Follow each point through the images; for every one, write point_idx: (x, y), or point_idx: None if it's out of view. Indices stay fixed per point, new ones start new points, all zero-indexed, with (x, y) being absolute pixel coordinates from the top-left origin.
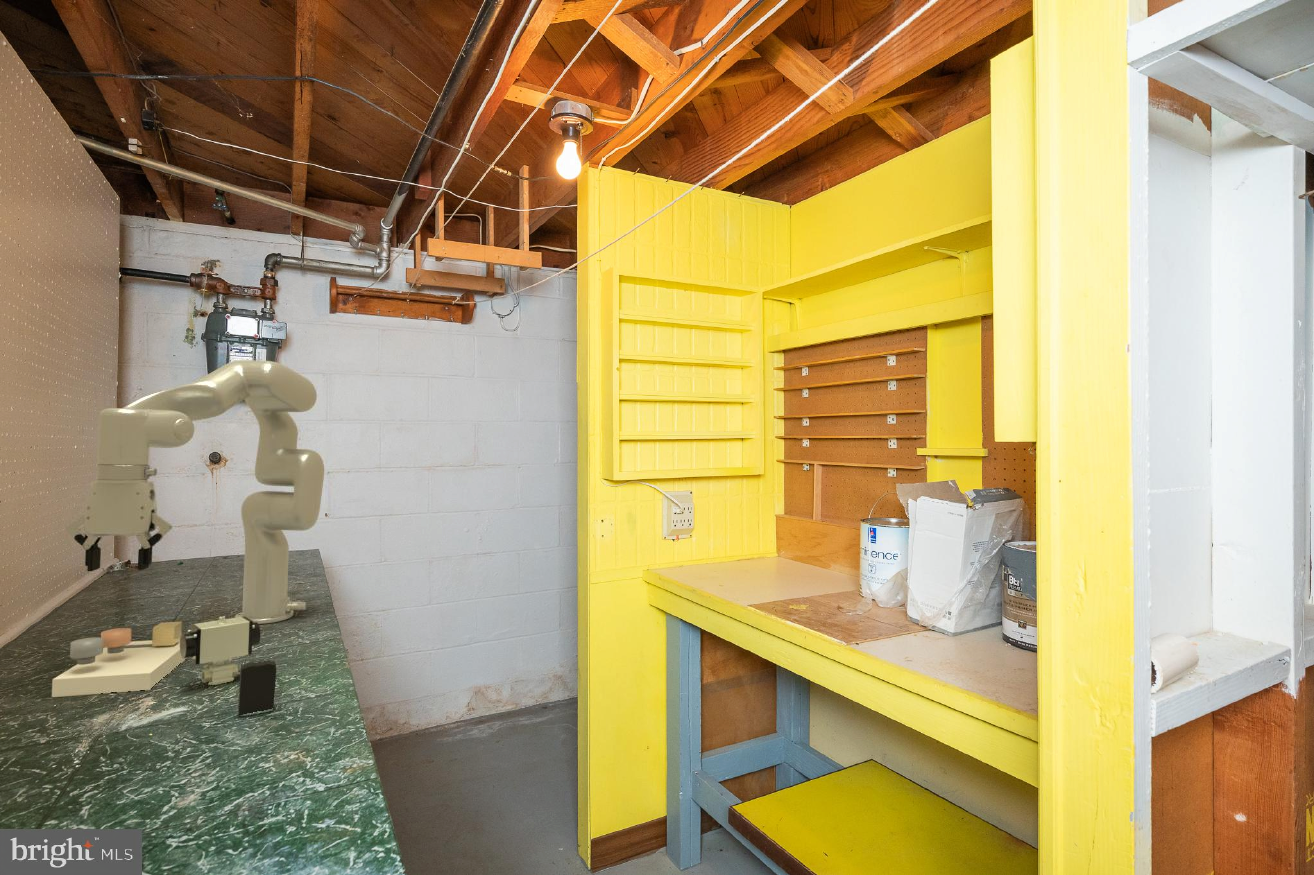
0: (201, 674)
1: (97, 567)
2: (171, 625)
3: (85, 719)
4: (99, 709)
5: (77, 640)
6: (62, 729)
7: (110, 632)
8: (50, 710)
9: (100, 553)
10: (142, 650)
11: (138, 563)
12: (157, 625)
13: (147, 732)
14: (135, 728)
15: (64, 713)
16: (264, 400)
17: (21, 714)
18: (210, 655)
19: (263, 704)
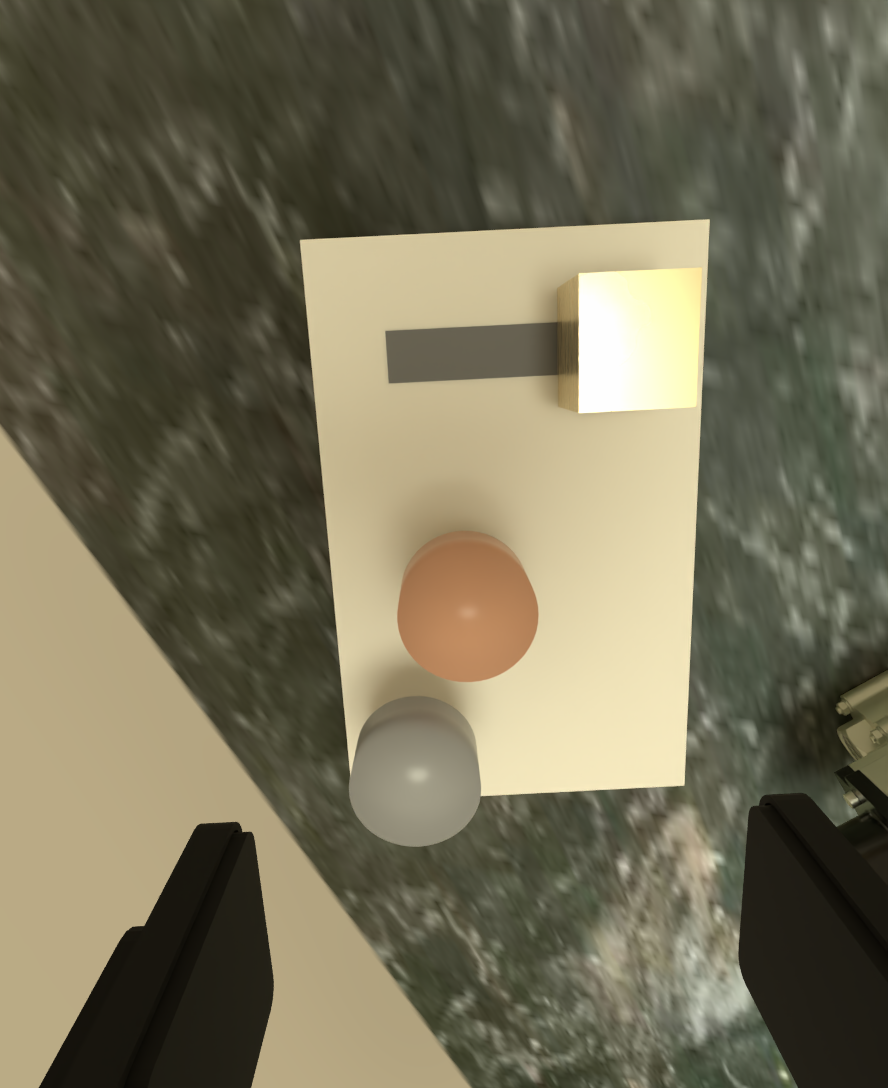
0: (845, 736)
1: (254, 895)
2: (667, 364)
3: (567, 957)
4: (571, 890)
5: (362, 774)
6: (540, 1013)
7: (450, 644)
8: (426, 874)
9: (183, 1003)
10: (524, 439)
11: (782, 1043)
12: (583, 350)
13: (771, 1064)
14: (731, 1036)
15: (482, 904)
16: None
17: (358, 892)
18: None
19: None
